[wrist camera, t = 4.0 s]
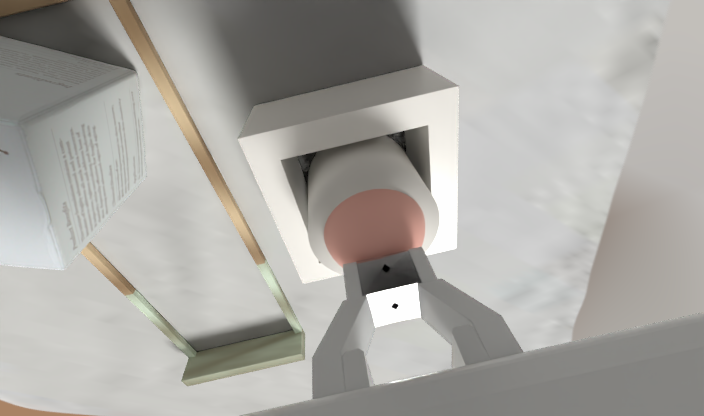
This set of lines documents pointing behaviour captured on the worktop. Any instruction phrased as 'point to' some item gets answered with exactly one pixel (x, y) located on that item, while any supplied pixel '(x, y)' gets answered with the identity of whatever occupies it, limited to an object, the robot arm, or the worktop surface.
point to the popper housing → (349, 127)
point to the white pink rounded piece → (367, 203)
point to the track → (263, 349)
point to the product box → (63, 151)
